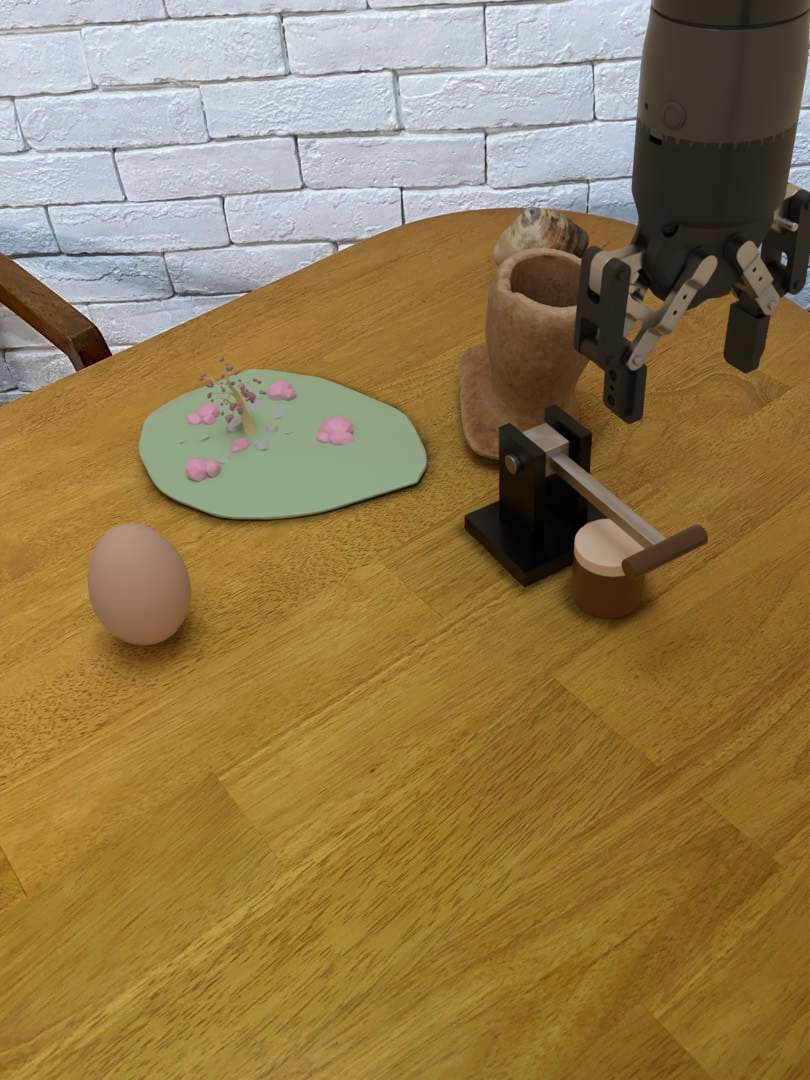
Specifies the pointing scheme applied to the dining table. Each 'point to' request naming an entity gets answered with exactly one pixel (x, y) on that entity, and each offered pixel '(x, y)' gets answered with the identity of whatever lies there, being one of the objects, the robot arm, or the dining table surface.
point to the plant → (278, 446)
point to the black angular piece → (535, 503)
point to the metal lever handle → (616, 508)
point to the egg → (138, 584)
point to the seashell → (541, 234)
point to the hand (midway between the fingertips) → (683, 390)
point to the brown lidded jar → (605, 571)
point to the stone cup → (523, 348)
